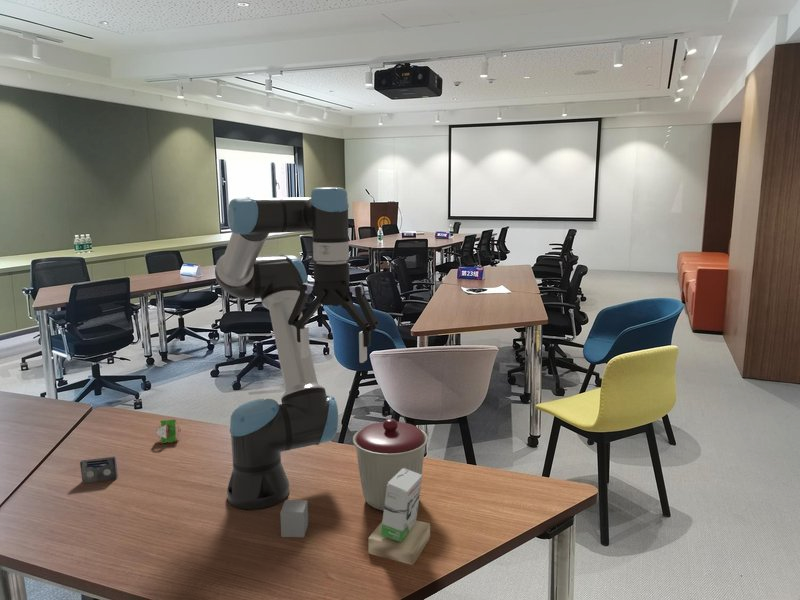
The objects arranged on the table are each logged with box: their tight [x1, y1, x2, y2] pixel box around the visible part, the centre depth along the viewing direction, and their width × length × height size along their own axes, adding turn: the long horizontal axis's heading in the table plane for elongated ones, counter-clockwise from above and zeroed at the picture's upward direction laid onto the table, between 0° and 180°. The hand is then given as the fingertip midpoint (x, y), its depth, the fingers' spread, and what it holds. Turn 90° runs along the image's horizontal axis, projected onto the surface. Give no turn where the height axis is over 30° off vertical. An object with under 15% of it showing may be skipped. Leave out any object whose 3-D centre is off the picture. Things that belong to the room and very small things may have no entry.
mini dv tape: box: [79, 456, 119, 484], centre depth 150 cm, size 8×2×6 cm, turn 105°
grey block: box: [279, 499, 309, 538], centre depth 127 cm, size 5×5×6 cm
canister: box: [352, 418, 429, 512], centre depth 138 cm, size 18×18×21 cm
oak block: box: [368, 519, 431, 566], centre depth 121 cm, size 10×10×4 cm
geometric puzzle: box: [155, 418, 182, 444], centre depth 174 cm, size 7×7×8 cm
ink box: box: [381, 468, 423, 542], centre depth 120 cm, size 9×5×12 cm, turn 156°
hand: (333, 359), depth 124 cm, fingers open, 13 cm apart
